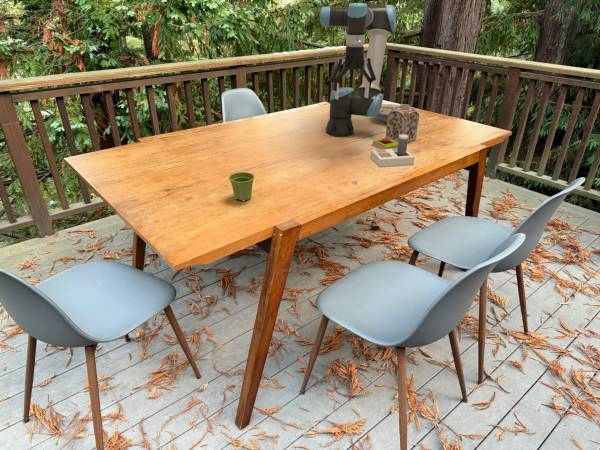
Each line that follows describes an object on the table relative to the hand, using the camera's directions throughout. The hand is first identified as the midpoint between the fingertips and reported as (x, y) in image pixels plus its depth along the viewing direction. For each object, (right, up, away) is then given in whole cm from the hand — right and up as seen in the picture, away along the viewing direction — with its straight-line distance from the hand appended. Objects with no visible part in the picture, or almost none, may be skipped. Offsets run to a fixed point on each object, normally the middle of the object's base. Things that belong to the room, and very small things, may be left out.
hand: (351, 98), depth 182 cm
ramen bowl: (+30, +5, +62) cm, 69 cm away
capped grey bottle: (+23, -26, +8) cm, 36 cm away
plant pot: (-44, -46, -25) cm, 68 cm away
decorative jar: (+30, -11, +34) cm, 47 cm away
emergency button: (+20, -18, +24) cm, 36 cm away
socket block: (+19, -26, +8) cm, 34 cm away
